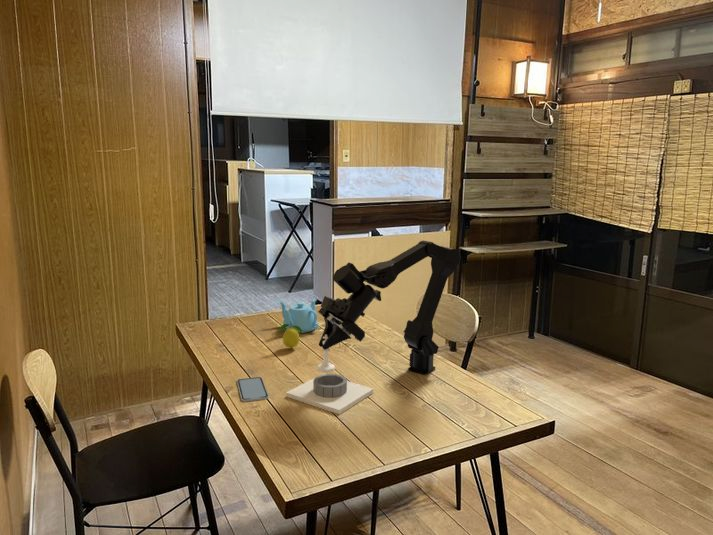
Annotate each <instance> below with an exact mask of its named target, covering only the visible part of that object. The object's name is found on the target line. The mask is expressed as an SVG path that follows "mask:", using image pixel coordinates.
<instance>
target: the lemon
mask: <svg viewBox="0 0 713 535" xmlns="http://www.w3.org/2000/svg"><path fill="white" fill-rule="evenodd" d="M290 324H291V323H290ZM288 325H289V324H284V325H283V324H282V325H281V326H280V328H278V333H280V332H281V331H283V330H284V329H285V331H284V333H283V336H282V341H283V344H284V346H285V347H286V348H289V350H293V349H294V348H295V347H297V346H298V344H299V343H300V334H301V333H302V334H303V332H302V329H301V328H300V327H299V326H293V327H294V328H292V327H290V328H288V329H286V327H287V326H288ZM291 326H292V325H291ZM297 330H298V331H299V332H301V333H298V331H297Z"/></svg>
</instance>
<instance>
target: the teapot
mask: <svg viewBox="0 0 713 535" xmlns="http://www.w3.org/2000/svg"><path fill="white" fill-rule="evenodd" d="M317 300H318V298H314V299H313V300H312V301H311V303H310V305H308V304H307V305H306V304H305V303H304V302H297V303H296V305H295V304H294V305H292V306H290V307H289V309H287V306H286V304H285V302H284V301H281V300H278V303H280V306H281V314H282V318H283V324H282V325H284V324H289V325H288V326H287V327H286V328H285V330H287V329H288V328H290V327H292V328H294V327H293V326H299V327H300V328H301V329H302V332H303V333H304V334H305V333H309V332H313V331H314V330H315V329H319V322H318V313H317V311H316V302H317ZM290 323H291V324H290ZM291 325H292V326H291ZM297 331H298V330H297ZM303 333H302V334H303ZM298 334H301V332H299V331H298Z"/></svg>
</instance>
